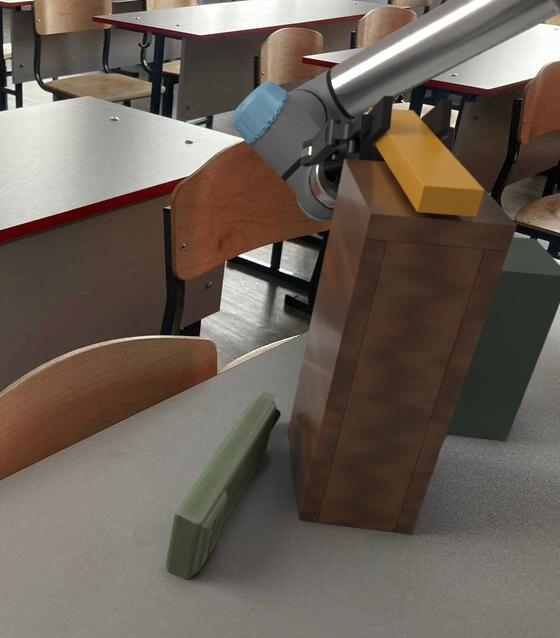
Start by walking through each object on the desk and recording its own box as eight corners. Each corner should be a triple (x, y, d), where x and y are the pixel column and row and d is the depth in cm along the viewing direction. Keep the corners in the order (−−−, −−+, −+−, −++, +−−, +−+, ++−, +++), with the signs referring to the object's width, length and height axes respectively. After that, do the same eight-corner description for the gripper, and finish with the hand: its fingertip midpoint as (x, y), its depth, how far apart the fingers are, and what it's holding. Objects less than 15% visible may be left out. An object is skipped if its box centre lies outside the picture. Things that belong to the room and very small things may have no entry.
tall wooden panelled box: (384, 444, 79) (465, 167, 64) (412, 534, 68) (517, 225, 53) (287, 432, 81) (344, 158, 66) (299, 519, 69) (370, 213, 55)
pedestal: (480, 392, 88) (535, 238, 78) (506, 441, 80) (570, 276, 71) (391, 383, 89) (435, 230, 80) (408, 430, 82) (458, 266, 72)
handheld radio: (158, 567, 64) (257, 416, 83) (194, 585, 63) (286, 427, 82) (168, 510, 61) (269, 366, 79) (206, 527, 59) (300, 376, 78)
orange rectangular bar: (408, 131, 72) (413, 110, 71) (476, 217, 53) (484, 189, 52) (364, 128, 72) (369, 107, 71) (416, 212, 53) (423, 185, 52)
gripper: (425, 210, 85) (520, 166, 62) (271, 198, 87) (306, 151, 64) (432, 144, 85) (530, 75, 62) (277, 133, 87) (315, 62, 64)
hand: (416, 114), depth 63 cm, fingers closed on orange rectangular bar, 4 cm apart
